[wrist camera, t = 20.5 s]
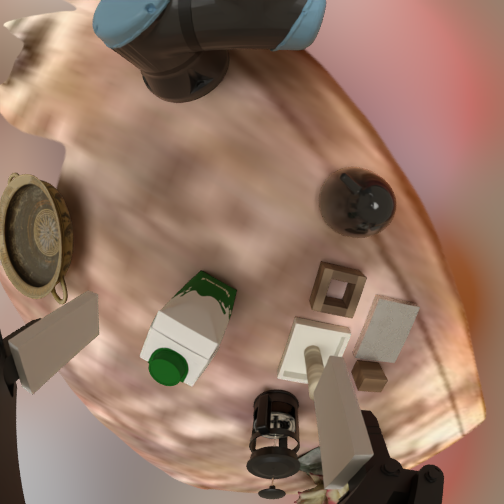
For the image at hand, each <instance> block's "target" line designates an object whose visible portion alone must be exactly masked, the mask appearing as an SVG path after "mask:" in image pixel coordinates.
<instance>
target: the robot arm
mask: <svg viewBox="0 0 504 504" xmlns="http://www.w3.org/2000/svg"><path fill="white" fill-rule="evenodd" d="M325 8H326V0H101V1H100V3H99V5H98V6H97V8H96V11H95V13H94V17H93V29H94V32H95V34H96V35H97V36H98V37H99V38H100V39H101V40H102V41H104V43H105V44H106V46H107V47H109V48H111V49H112V50H114V51H115V52H117V53H118V54H120V55H121V56H122V57H124V58H125V59H126V60H128V61H129V62H131V63H132V64H133V65H135V66H136V67H137V68H139V69H140V71H141V74H142V76H143V80H144V82H145V84H146V86H147V88H148V89H149V90H150V91H151V92H152V93H153V94H155V95H156V96H157V97H159V98H161V99H163V100H165V101H168V102H175V103H181V102H188V101H192V100H195V99H198V98H200V97H202V96H204V95H206V94H207V93H209V92H210V91H211V90H213V89H214V88H215V87H216V86H217V85H218V84H219V83H220V82H221V80H222V79H223V77H224V76H225V74H226V71H227V69H228V65H229V54H228V49H270V51H277V50H303V49H305V48H307V47H308V46H310V45H311V44H312V43H313V42H314V40H315V38H316V37H317V34H318V32H319V29H320V27H321V23H322V20H323V17H324V13H325ZM98 335H99V318H98V294H96V293H93V292H91V291H86V292H85V293H83V294H81V295H80V296H78V297H76V298H75V299H73V300H71V301H70V302H68V303H66V304H65V305H63V306H62V307H60V308H58V309H57V310H55V311H53V312H52V313H50V314H49V315H47V316H45V317H44V318H42V319H41V318H39V319H36V320H32V321H30V322H29V323H27V324H26V325H25V326H23V327H21V328H20V329H18V330H16V331H15V332H13V333H11V334H10V335H8V336H7V337H5V338H4V339H2V335H1V331H0V504H26V503H25V499H24V494H23V489H22V483H21V477H20V470H19V463H18V462H19V461H18V451H17V435H16V396H17V384H16V381H17V380H18V379H20V382H21V384H22V387H23V388H24V389H25V390H27V391H28V392H29V393H31V394H32V395H33V394H34V393H35V392H36V391H37V390H38V389H39V388H40V387H41V386H43V384H45V383H46V382H47V381H48V380H49V379H50V378H51V377H52V376H53V375H54V374H56V373H57V372H58V371H59V370H60V369H61V368H62V367H63V366H64V365H65V364H66V363H68V362H69V361H70V360H71V359H72V358H73V357H74V356H75V355H76V354H78V353H79V352H80V351H81V350H82V349H83V348H84V347H85V346H87V345H88V344H89V343H90V342H91V341H92V340H93V339H95V338H96V337H97V336H98ZM313 396H314V403H315V411H316V418H317V426H318V434H319V443H320V452H321V461H322V470H323V481H324V489H342V488H343V487H344V486H345V485H346V484H347V483H348V487H349V490H348V491H347V492H346V493H345V494H344V495H343V496H342V497H341V498H340V499H338V500H339V501H338V502H337V504H442V496H443V484H444V476H443V472H442V471H441V469H439V468H438V467H437V466H435V465H425V466H423V467H422V468H421V469H420V470H419V471H414V470H408V469H403V468H402V466H401V464H400V463H399V462H398V461H396V460H395V459H392V458H390V456H389V453H388V450H387V447H386V444H385V441H384V438H383V435H382V434H381V433H382V432H381V429H380V428H379V424H378V421H377V418H376V417H375V416H374V415H373V413H372V412H371V411H367V410H360V407H359V404H358V400H357V397H356V394H355V391H354V388H353V385H352V382H351V379H350V376H349V373H348V370H347V367H346V364H345V362H344V359H343V357H337V356H331V355H330V356H329V359H328V361H327V363H326V366H325V368H324V370H323V373H322V375H321V377H320V379H319V382H318V384H317V386H316V388H315V390H314V392H313Z"/></svg>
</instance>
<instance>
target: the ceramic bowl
mask: <svg viewBox="0 0 504 504" xmlns="http://www.w3.org/2000/svg"><path fill="white" fill-rule="evenodd" d="M14 177H15V178H14ZM13 178H14V179H13ZM12 179H13V180H12ZM72 252H73V228H72V222H71V218H70V214H69V211H68V208H67V205H66V203H65V201H64V199H63V197H62V196H61V194H60V193H59V192H58V191H57V189H56V188H55V187H53V186H52V185H51V184H49V183H47V182H45V181H41V180H39V179H38V178H37V177H35V176H33V175H29V174H24V175H19V174H18V173H13V174H11V175H10V177H9V179H8V186H7V187H6V189H5V190H4V192H3V195H2V197H1V200H0V259H1V263H2V266H3V268H4V270H5V272H6V274H7V276H8V278H9V280H10V281H11V282H12V284H13V285H14V287H15V288H16V289H17V290H18V291H20V292H21V293H22V294H23V295H25V296H27V297H29V298H32V299H40V298H42V297H45V296H46V295H48V294H49V293H50V292H51V293H52V295H53V297H54V298H55V300H56V301H57V302H58V303H59V304H64V303H66V301H67V298H68V294H67V288H66V284H65V280H64V276H65V274H66V272H67V270H68V268H69V265H70V262H71V258H72ZM59 282H61V285H62V289H63V300H62V299H60V297H59V296H58V295H57V293H56V290H55V285H57V284H58V283H59Z"/></svg>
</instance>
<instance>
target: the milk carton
mask: <svg viewBox="0 0 504 504" xmlns="http://www.w3.org/2000/svg"><path fill="white" fill-rule="evenodd" d="M236 292H237V290H235V289H234V288H232V287H230V286H228V285H226V284H224V283H223V282H221V281H219V280H217V279H216V278H214V277H212V276H210V275H208V274H207V273H205V272H203V271H200V272H199V273H198V274H197V275H196V276H194V277H193V278H192V279H191V280H190V281H189V282H188V283H187V284H186V285H185V286H184V287H183V288H182V289H181V290H180V291H179V292H178V293H177V294H176V295H175V296H174V297H173V298H172V299H171V300H170V301H169V302H168V303H167V304H166V305H165V306H164V307H163V308H162V309H161V310H159V311H158V313H157V315H156V316H155V318H154V320H153V322H152V324H151V326H150V329H149V332H148V335H147V337H146V340H145V343H144V345H143V348H142V351H141V354H140V357H141V358H142V359H144V360H146V361H148V363H149V372H150V374H151V376H152V377H153V378H154V379H155V380H156V381H157V382H158V383H160V384H162V385H165V386H174V385H176V384H178V383H179V381H181V382H182V383H183V382H184V383H186V384H188V385H190V386H193V385H194V384H195V382H196V381H197V380H198V378H199V377H200V376H201V375H202V373H203V372H204V371H205V369H206V368H207V366H208V365H209V363H210V362H211V360H212V359H213V357H214V356H215V354H216V353H217V351H218V350H217V348H218V346H219V345H220V343H221V341H222V338H223V335H224V333H225V330H226V327H227V325H228V322H229V319H230V316H231V313H232V309H233V305H234V301H235V296H236ZM218 349H219V348H218ZM216 350H217V351H216ZM215 351H216V353H215ZM214 353H215V354H214ZM213 354H214V355H213Z"/></svg>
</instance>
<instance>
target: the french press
mask: <svg viewBox="0 0 504 504" xmlns="http://www.w3.org/2000/svg"><path fill="white" fill-rule="evenodd" d="M272 402H284V403H287V404H289V405H291V406H292V409H291V411H290V412H289V413H285V412H280V411H271V408H272ZM298 407H299V404H298V400H297V398H296V397H295V396H294V395H293V394H291V393H289V392H287V391H283V390H270V391H266V392H263V393H262V394H260V395H259V396H258V397H257V398H256V399H255V401H254V415H253V416H254V422H253V430H252V437H251V439H250V445H249V448H250V450H251V452H252V454H251V457H250V460H249V461H248V462H247V466H246V467H247V470H248V471H249V472H250V473H251V474H253V475H255V476H258V477H261V478H266V479H272V484H271V486H270V487H269V489H264V490H261V491H259V492H258V494H259V496H260V497H262V498H266V499H279V498H282V497H283V496H285V495H286V493H285V492H284V491H283V490H280V489H275V486H274V479H281V478H286V477H289V476H292V475H294V474H296V473H297V472H298V471H299V470H300V462H299V460H298V457H297V454H296V453H297V452H298V450H299V448H300V442H299V422H298ZM294 432H295V433H294ZM259 436H263V437H266V438H270V439H274V446H270V447H264V448H260V449H257V450H256V449H255V446H256V438H257V437H259ZM287 436H290V437H292V438H294V439H295V440H296V441H297V442H298V445H297V446H296V447H295V448H294V449H293V450H291V449H288V448H287ZM276 439H279V447H278V446H276Z"/></svg>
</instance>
